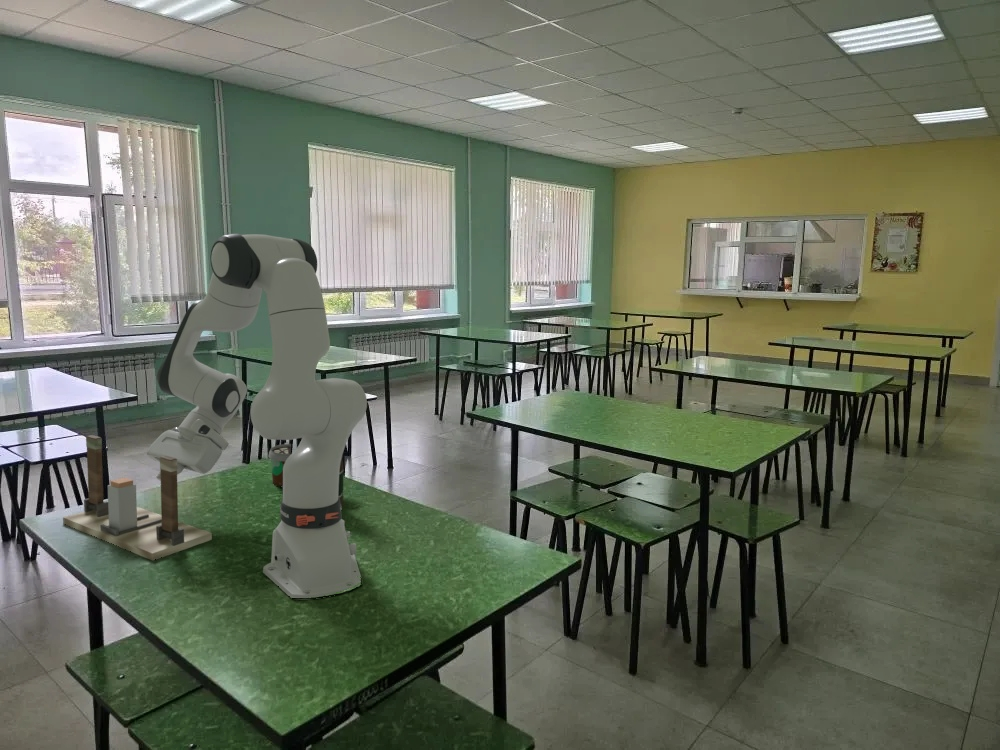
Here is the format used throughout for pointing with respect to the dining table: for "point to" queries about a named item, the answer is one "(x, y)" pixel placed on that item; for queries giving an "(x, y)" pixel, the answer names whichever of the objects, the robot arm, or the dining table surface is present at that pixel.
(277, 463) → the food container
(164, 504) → the brown lever
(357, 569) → the robot arm
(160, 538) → the panel
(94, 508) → the wooden stick
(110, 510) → the slider
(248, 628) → the dining table surface
